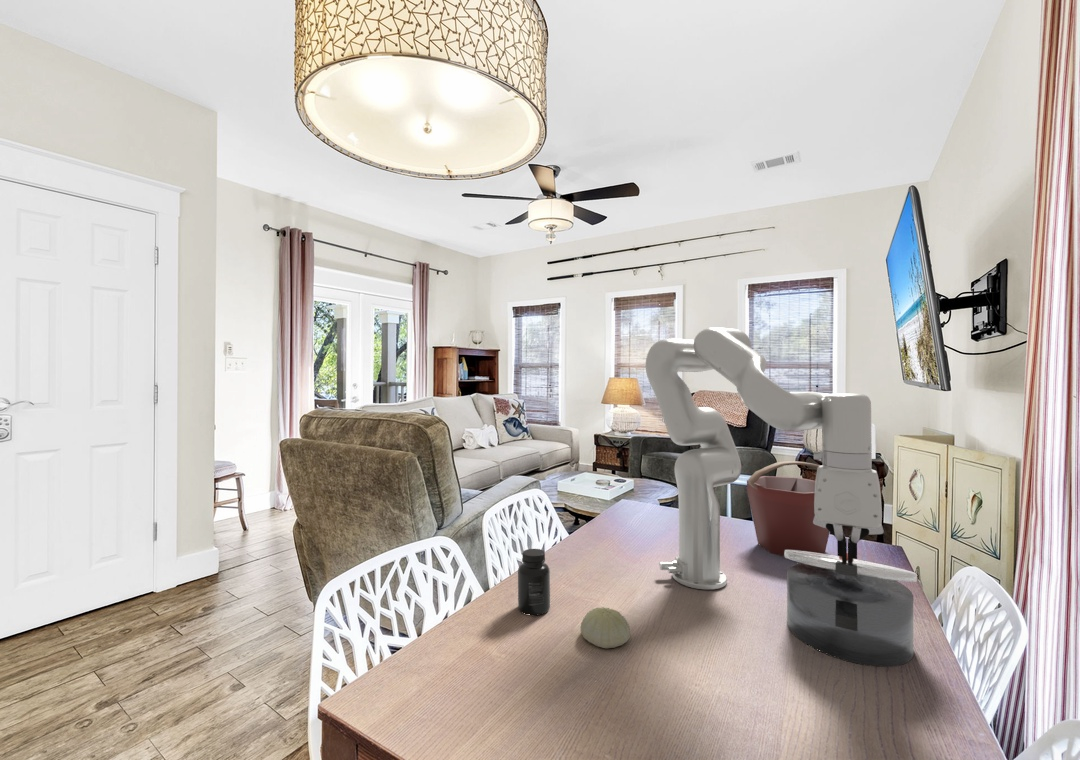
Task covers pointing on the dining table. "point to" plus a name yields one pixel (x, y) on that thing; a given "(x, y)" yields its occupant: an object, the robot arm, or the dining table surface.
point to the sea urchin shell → (605, 628)
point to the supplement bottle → (533, 583)
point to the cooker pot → (851, 615)
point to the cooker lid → (851, 566)
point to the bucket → (785, 512)
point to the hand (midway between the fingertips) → (847, 561)
